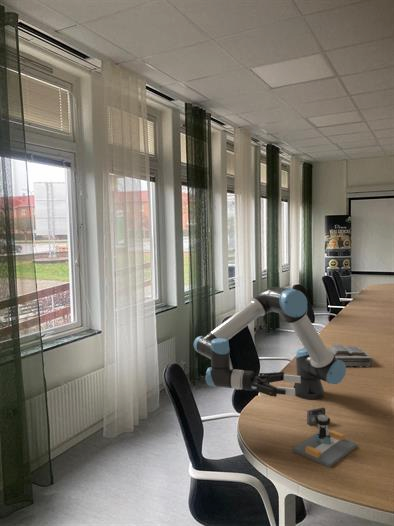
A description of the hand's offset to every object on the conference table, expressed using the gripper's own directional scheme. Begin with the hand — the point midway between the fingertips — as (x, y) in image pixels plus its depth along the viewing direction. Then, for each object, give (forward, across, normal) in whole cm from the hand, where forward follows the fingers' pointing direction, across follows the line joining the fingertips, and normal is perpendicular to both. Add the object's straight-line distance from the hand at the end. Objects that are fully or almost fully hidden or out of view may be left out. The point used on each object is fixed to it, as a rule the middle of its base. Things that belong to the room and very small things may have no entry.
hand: (297, 385), depth 154 cm
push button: (+9, -2, -22) cm, 24 cm away
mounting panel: (+10, 0, -23) cm, 25 cm away
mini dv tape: (+4, -21, -24) cm, 32 cm away
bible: (+13, -114, -25) cm, 117 cm away
